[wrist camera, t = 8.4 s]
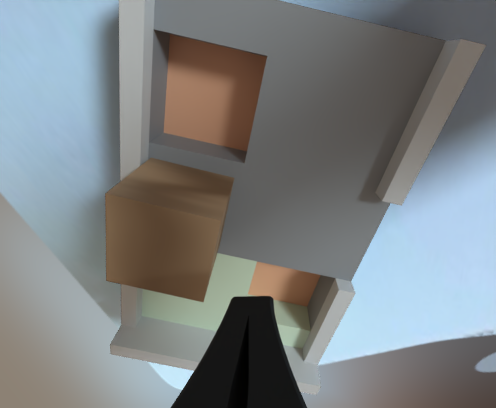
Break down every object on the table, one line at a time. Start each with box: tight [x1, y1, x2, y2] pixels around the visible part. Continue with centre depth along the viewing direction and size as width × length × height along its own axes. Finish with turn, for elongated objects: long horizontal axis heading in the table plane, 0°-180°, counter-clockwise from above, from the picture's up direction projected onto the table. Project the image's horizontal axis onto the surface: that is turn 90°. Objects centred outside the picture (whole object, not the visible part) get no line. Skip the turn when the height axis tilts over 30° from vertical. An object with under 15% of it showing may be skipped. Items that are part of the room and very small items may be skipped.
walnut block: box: [105, 158, 234, 302], centre depth 14 cm, size 4×4×4 cm
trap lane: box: [110, 0, 486, 395], centre depth 16 cm, size 14×21×5 cm, turn 168°
